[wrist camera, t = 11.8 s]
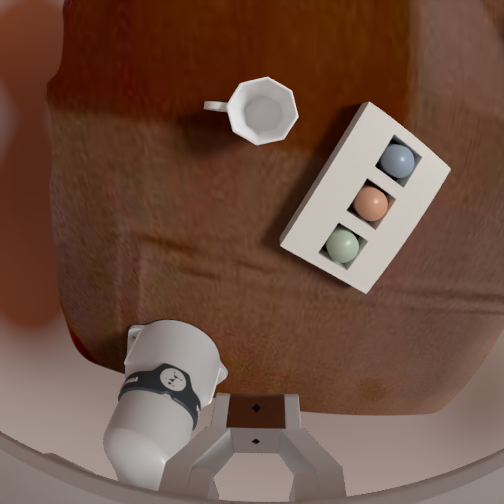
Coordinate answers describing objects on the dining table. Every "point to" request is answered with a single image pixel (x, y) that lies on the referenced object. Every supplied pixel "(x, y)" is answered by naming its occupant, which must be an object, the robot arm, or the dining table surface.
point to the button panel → (346, 188)
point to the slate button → (397, 161)
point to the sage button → (342, 244)
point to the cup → (259, 110)
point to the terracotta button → (370, 203)
